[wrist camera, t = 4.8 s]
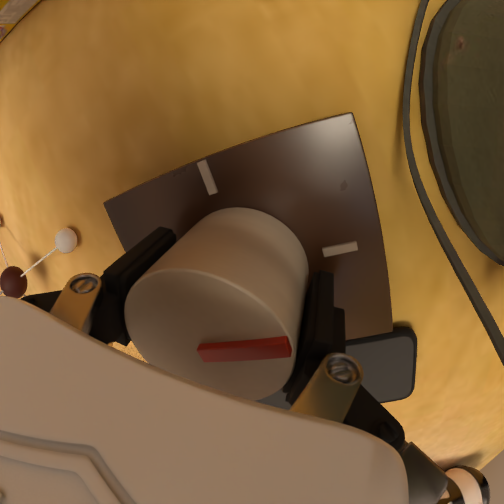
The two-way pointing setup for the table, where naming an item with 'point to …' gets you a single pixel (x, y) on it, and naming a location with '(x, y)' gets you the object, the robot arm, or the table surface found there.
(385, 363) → the smartphone
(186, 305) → the dial
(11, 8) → the candy box
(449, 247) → the lantern
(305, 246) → the dial panel
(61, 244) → the molecular model
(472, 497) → the coffee press
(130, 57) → the table surface
